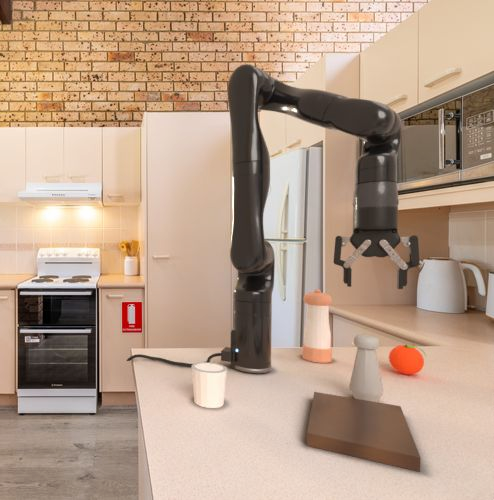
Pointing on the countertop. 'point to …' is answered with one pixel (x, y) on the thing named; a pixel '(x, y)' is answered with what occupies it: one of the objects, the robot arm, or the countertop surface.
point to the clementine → (406, 359)
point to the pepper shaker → (317, 328)
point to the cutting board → (362, 430)
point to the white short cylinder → (209, 384)
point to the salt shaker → (366, 370)
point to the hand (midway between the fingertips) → (373, 287)
